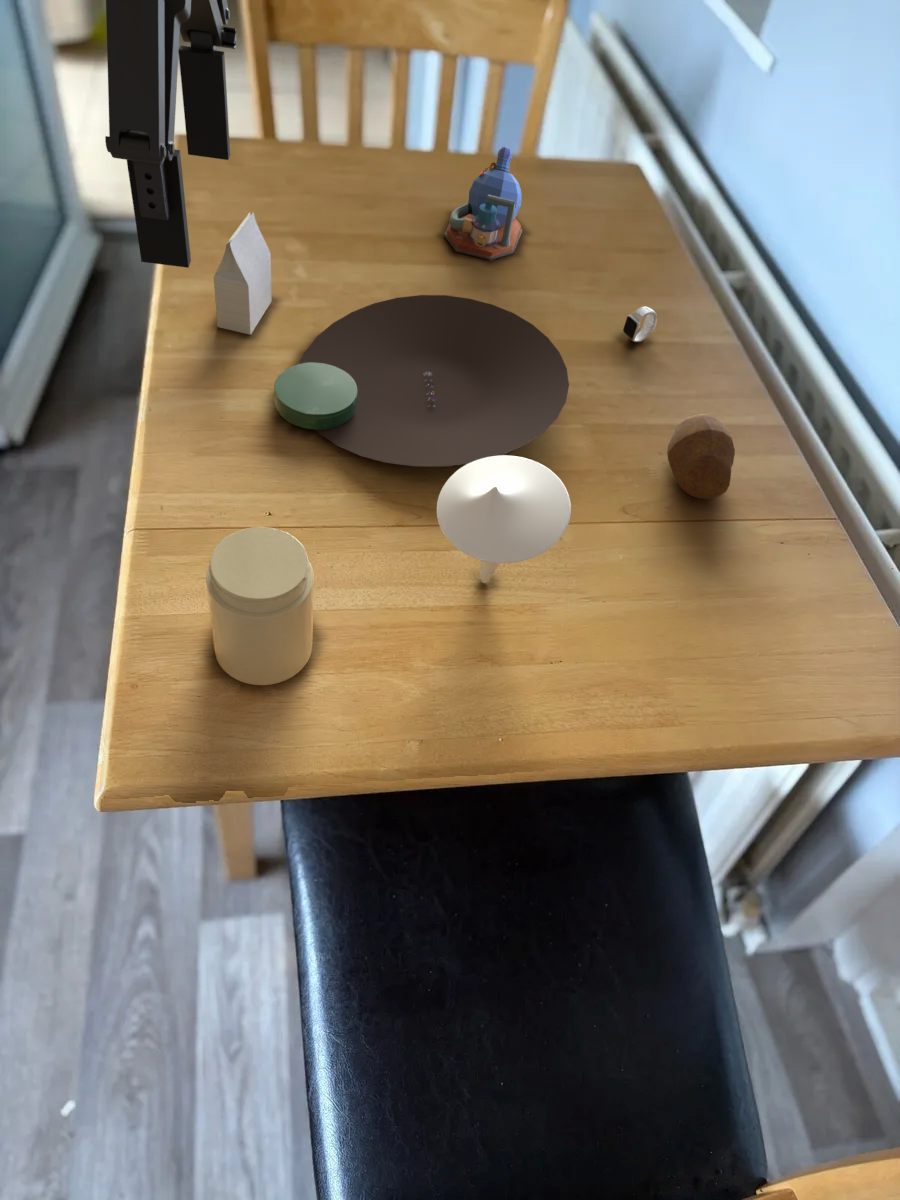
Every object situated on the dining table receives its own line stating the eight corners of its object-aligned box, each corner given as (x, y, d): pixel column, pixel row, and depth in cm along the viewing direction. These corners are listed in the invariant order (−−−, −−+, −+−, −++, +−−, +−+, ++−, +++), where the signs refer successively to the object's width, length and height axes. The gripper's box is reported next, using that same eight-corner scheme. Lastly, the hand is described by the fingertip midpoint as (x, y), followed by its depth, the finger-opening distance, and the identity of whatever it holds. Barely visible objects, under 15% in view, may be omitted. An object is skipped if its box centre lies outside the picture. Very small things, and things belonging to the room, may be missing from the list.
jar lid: (370, 418, 90) (372, 403, 88) (295, 438, 87) (295, 423, 85) (334, 370, 94) (335, 355, 93) (261, 388, 91) (261, 372, 89)
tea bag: (271, 301, 101) (269, 216, 93) (250, 334, 97) (246, 248, 89) (239, 293, 101) (235, 208, 93) (217, 326, 97) (210, 239, 89)
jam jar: (199, 672, 69) (187, 588, 62) (233, 599, 74) (226, 512, 66) (296, 695, 69) (295, 614, 61) (323, 620, 74) (326, 536, 66)
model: (459, 203, 120) (469, 132, 113) (526, 220, 120) (541, 150, 113) (437, 247, 113) (447, 173, 106) (509, 265, 112) (523, 192, 105)
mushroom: (473, 648, 74) (498, 550, 65) (401, 561, 79) (415, 458, 70) (568, 600, 79) (604, 502, 70) (495, 521, 84) (520, 420, 75)
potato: (667, 508, 88) (688, 460, 83) (651, 441, 94) (670, 393, 89) (732, 513, 89) (757, 466, 84) (712, 447, 95) (734, 399, 90)
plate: (294, 306, 101) (294, 276, 98) (538, 320, 106) (544, 292, 103) (292, 481, 84) (292, 451, 81) (583, 488, 88) (593, 460, 85)
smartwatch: (643, 330, 107) (652, 300, 104) (654, 340, 106) (664, 311, 103) (619, 337, 106) (628, 307, 102) (630, 347, 105) (640, 318, 101)
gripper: (172, -166, 34) (213, 325, 50) (269, -274, 49) (276, 126, 66) (-38, -202, 33) (73, 308, 49) (128, -299, 49) (170, 111, 65)
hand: (189, 204), depth 58 cm, fingers open, 13 cm apart
